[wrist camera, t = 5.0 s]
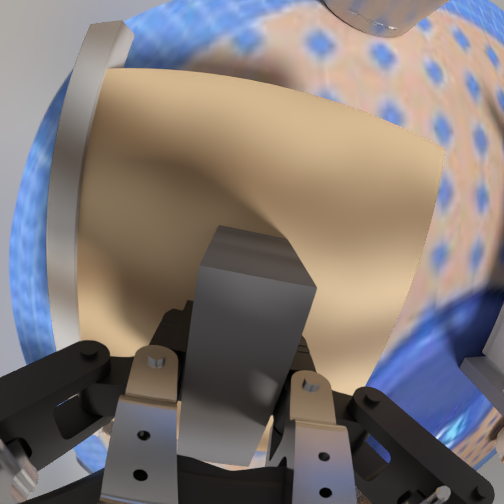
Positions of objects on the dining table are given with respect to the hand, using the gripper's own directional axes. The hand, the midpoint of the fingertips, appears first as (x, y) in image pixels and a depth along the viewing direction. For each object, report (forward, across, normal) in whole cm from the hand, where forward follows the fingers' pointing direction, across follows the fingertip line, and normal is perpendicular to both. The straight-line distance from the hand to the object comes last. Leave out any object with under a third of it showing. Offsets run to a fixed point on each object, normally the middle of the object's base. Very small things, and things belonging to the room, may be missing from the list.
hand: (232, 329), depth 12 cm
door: (+2, 0, 0) cm, 2 cm away
